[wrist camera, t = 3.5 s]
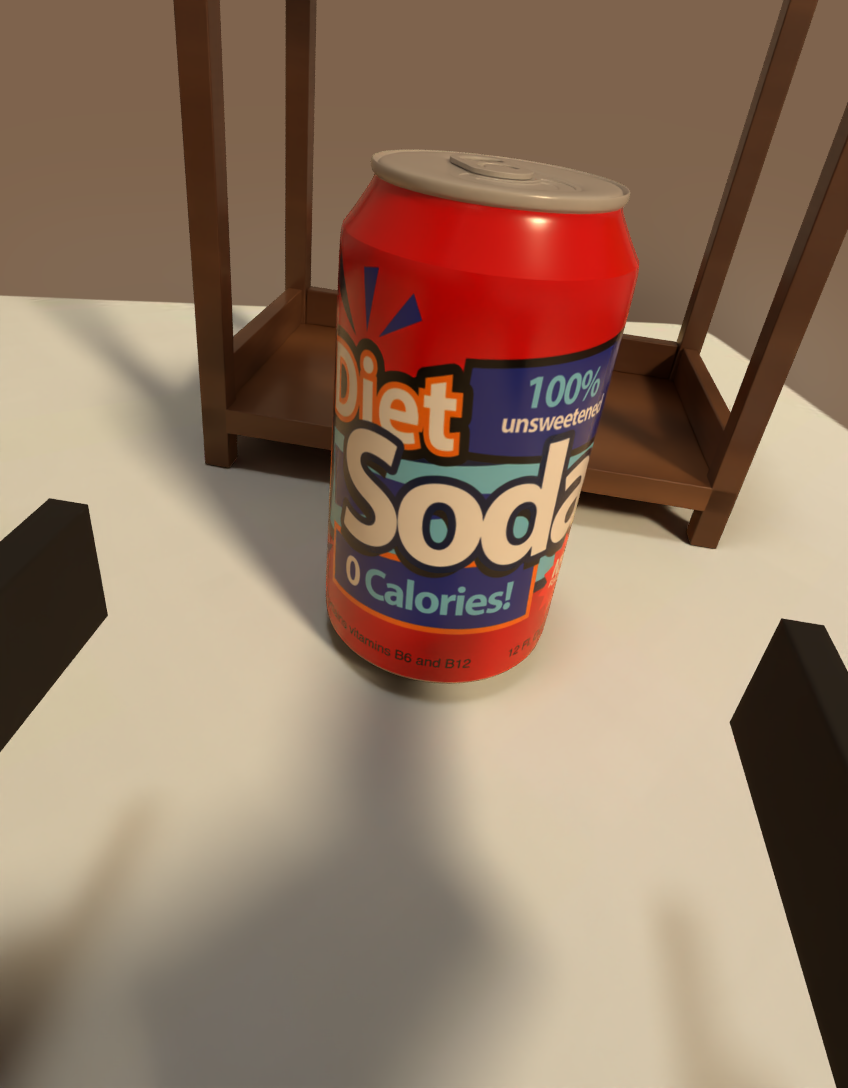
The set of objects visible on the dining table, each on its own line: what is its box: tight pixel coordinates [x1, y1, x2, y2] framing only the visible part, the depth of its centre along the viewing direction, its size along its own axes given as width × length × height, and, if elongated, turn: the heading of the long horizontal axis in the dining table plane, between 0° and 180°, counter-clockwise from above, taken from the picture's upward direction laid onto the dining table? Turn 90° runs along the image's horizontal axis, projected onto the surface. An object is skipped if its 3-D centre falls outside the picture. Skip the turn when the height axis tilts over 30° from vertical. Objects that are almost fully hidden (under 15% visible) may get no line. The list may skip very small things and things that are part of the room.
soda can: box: [326, 150, 639, 683], centre depth 22 cm, size 8×8×15 cm
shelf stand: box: [174, 0, 848, 549], centre depth 31 cm, size 14×24×30 cm, turn 82°
